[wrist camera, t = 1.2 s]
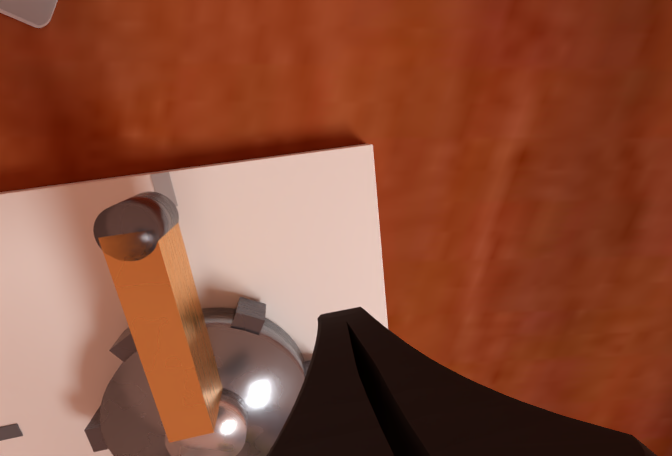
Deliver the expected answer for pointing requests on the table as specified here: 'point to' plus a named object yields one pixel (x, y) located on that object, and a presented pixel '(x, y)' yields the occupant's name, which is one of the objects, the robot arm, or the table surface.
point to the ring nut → (185, 351)
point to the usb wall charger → (29, 11)
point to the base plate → (205, 262)
